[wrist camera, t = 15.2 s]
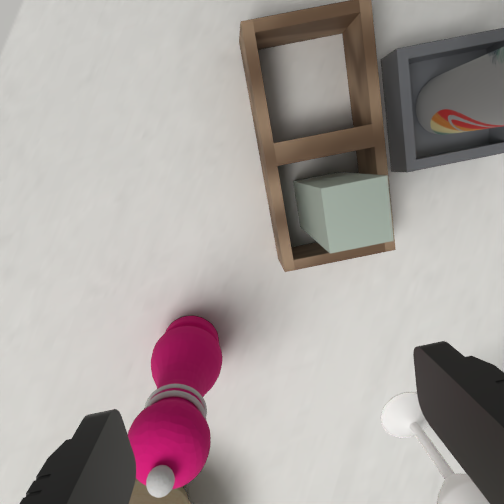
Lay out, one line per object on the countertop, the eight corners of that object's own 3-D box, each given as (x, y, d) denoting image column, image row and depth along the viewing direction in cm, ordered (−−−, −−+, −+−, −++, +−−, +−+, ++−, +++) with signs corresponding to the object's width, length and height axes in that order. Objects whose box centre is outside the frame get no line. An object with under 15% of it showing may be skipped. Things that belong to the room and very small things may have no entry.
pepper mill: (155, 314, 41) (86, 450, 21) (219, 307, 41) (209, 436, 22) (164, 371, 42) (109, 546, 23) (226, 364, 43) (222, 531, 23)
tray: (380, 59, 36) (396, 48, 32) (488, 38, 36) (515, 25, 33) (391, 171, 38) (407, 172, 35) (492, 151, 39) (517, 150, 35)
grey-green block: (293, 181, 38) (320, 188, 27) (339, 172, 38) (387, 175, 27) (300, 227, 39) (330, 253, 28) (345, 218, 39) (393, 240, 28)
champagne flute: (443, 412, 46) (662, 665, 23) (405, 447, 47) (577, 725, 24) (408, 382, 45) (602, 618, 21) (369, 419, 46) (515, 684, 22)
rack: (239, 41, 35) (240, 21, 30) (351, 19, 35) (370, -4, 30) (278, 258, 40) (284, 271, 35) (375, 239, 40) (395, 249, 35)
